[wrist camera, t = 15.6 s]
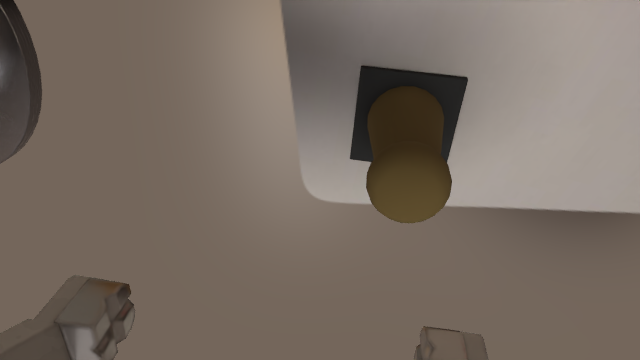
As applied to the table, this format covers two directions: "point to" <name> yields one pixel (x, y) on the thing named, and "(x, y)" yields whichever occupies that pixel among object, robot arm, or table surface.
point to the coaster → (383, 79)
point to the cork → (407, 155)
